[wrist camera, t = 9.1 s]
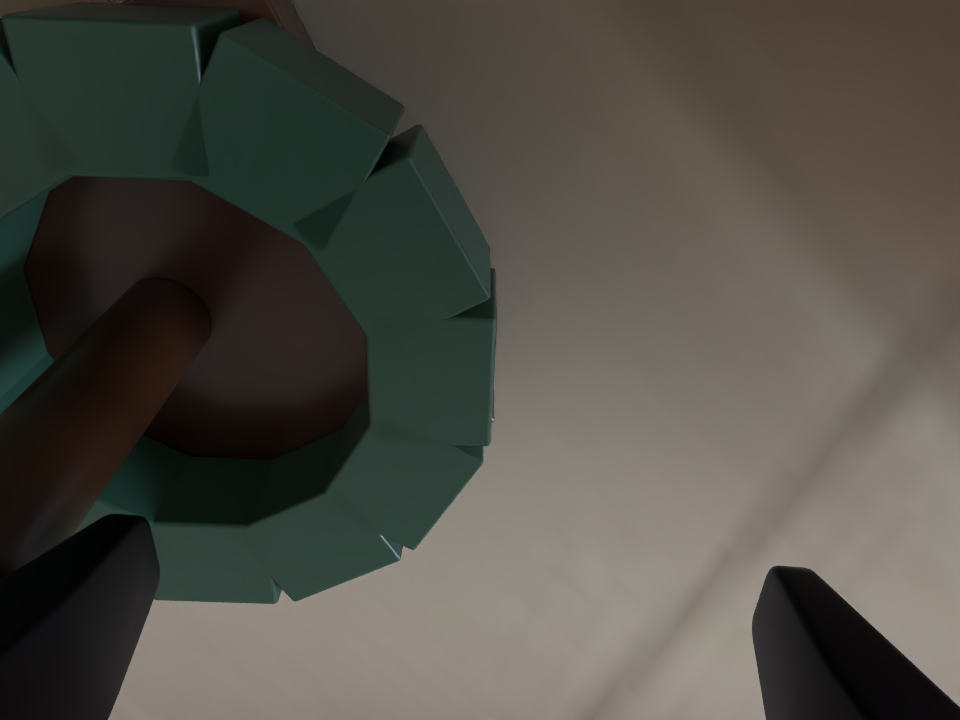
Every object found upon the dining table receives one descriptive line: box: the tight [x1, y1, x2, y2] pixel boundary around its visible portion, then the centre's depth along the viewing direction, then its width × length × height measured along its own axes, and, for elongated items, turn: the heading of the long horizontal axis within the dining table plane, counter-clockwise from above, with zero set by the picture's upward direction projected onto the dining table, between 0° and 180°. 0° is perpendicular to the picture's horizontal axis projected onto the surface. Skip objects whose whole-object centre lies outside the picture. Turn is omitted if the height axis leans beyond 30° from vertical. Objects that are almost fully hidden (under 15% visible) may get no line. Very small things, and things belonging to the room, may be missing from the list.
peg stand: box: [0, 0, 494, 580], centre depth 11 cm, size 9×9×8 cm
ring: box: [0, 3, 497, 604], centre depth 12 cm, size 10×10×2 cm
